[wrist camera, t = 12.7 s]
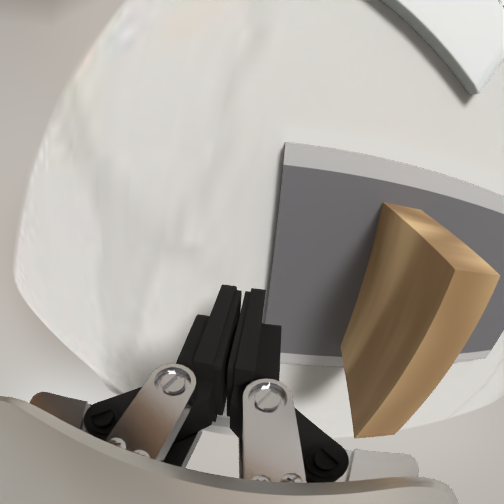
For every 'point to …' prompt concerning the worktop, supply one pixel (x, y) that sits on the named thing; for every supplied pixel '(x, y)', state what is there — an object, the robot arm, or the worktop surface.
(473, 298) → the wooden block
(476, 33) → the external hard drive
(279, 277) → the mat
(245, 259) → the worktop surface
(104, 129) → the worktop surface
